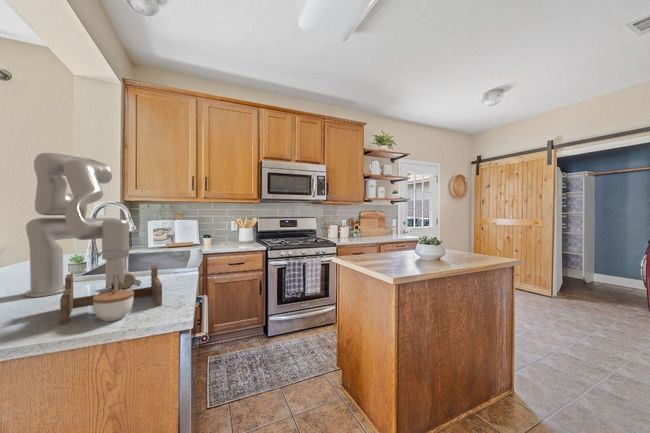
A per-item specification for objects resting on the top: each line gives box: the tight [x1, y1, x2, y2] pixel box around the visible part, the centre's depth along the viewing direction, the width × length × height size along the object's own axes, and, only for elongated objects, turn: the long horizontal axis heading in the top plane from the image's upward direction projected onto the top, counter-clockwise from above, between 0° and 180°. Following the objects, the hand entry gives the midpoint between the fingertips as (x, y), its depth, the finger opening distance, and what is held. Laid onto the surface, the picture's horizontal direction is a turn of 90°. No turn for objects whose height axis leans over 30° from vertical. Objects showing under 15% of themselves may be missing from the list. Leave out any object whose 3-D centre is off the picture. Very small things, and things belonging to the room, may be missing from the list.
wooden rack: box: [59, 265, 163, 325], centre depth 97 cm, size 18×27×12 cm, turn 130°
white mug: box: [121, 269, 142, 290], centre depth 121 cm, size 11×8×8 cm
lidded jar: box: [92, 289, 135, 322], centre depth 87 cm, size 11×11×9 cm
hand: (116, 304), depth 94 cm, fingers closed
